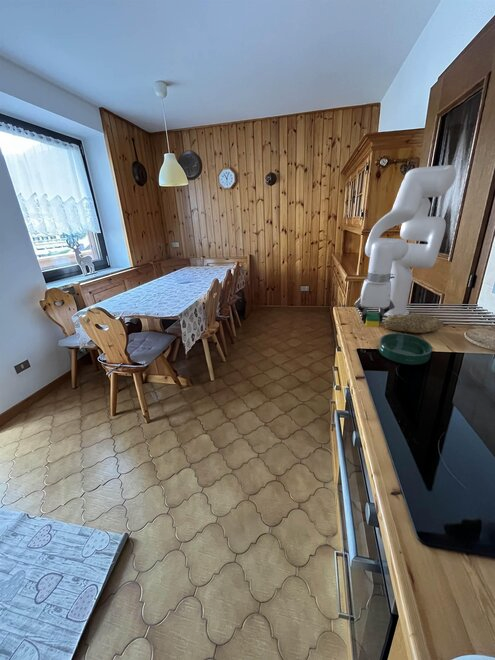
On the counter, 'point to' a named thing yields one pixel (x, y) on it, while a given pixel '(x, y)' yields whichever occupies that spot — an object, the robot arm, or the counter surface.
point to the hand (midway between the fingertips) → (371, 322)
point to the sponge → (413, 323)
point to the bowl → (405, 348)
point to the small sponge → (372, 319)
